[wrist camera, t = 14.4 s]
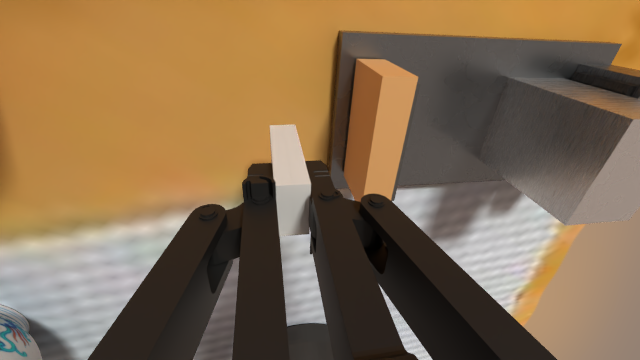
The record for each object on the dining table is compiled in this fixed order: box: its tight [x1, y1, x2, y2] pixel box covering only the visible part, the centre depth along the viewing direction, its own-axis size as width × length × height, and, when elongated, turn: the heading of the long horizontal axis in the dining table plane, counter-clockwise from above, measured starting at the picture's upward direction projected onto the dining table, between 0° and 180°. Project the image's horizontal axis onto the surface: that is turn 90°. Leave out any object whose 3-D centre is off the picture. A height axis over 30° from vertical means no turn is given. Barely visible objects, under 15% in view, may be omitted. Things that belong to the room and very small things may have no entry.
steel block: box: [478, 77, 640, 225], centre depth 21 cm, size 7×5×9 cm
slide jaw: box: [344, 59, 421, 202], centre depth 20 cm, size 9×2×5 cm, turn 177°
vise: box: [328, 31, 640, 189], centre depth 22 cm, size 12×22×6 cm, turn 87°
